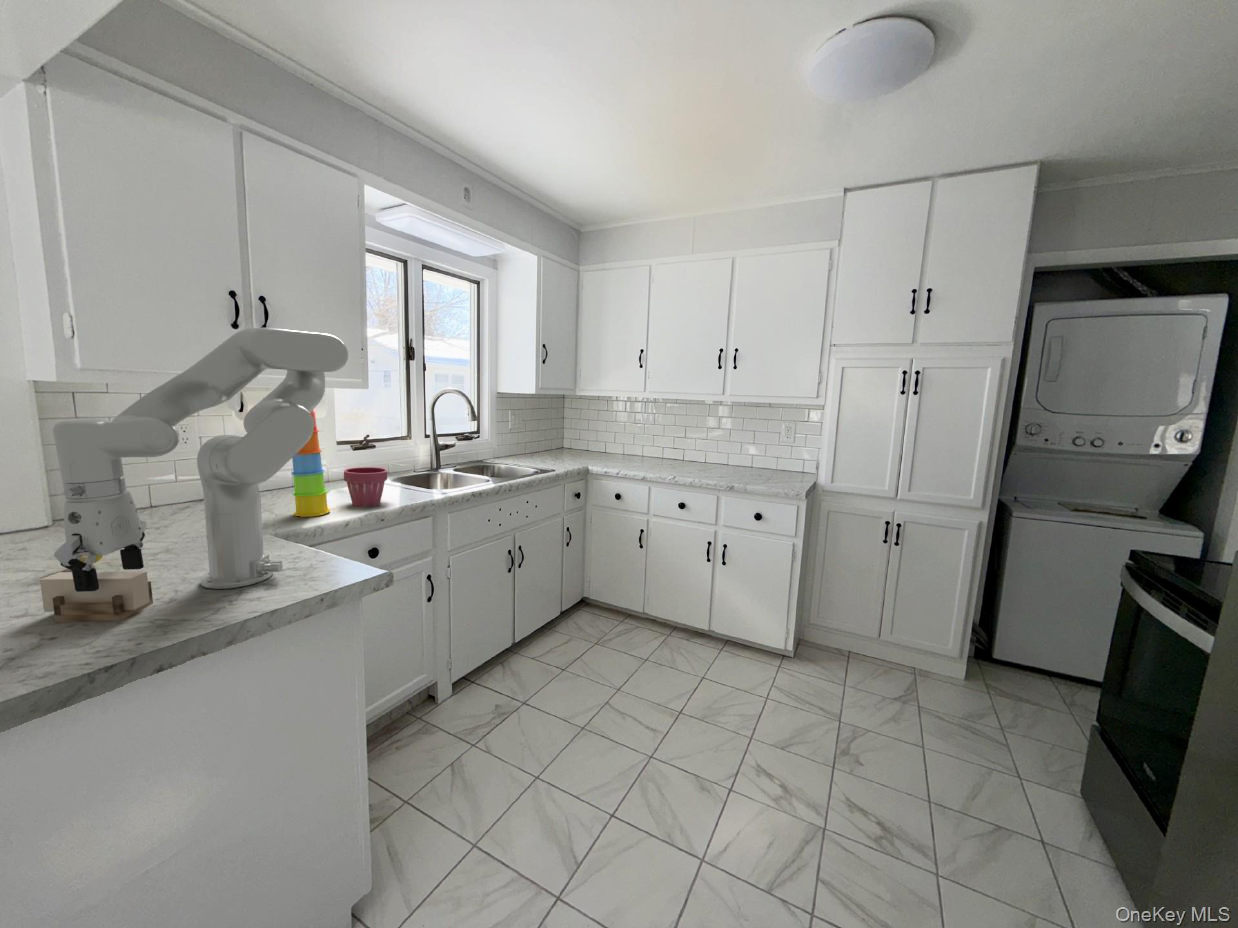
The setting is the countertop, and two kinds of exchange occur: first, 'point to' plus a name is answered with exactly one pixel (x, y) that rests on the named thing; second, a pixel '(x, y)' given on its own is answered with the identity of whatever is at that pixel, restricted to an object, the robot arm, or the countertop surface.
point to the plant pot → (365, 485)
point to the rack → (94, 609)
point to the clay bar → (109, 586)
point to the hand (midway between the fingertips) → (111, 579)
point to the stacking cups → (309, 478)
